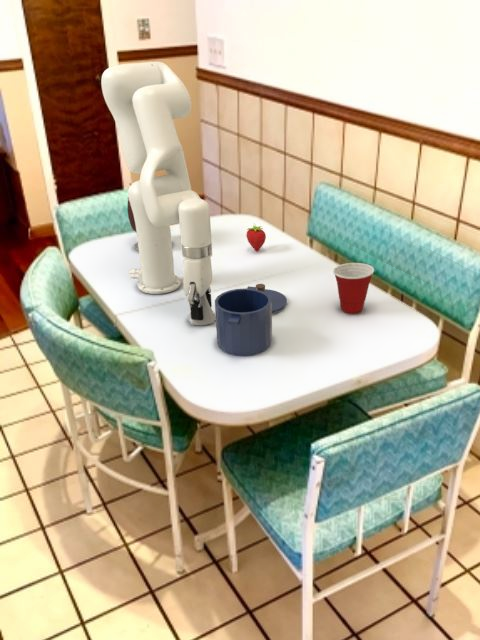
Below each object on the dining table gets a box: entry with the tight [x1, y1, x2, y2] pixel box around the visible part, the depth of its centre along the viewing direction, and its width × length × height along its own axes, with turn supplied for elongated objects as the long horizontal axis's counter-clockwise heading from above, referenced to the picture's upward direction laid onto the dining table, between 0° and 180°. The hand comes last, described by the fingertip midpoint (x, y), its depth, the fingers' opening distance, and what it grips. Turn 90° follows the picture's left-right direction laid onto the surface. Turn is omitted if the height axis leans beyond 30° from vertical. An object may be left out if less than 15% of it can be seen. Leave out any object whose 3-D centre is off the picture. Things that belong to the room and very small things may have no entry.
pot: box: [214, 285, 273, 357], centre depth 156 cm, size 14×19×12 cm
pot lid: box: [255, 283, 288, 314], centre depth 175 cm, size 15×15×6 cm
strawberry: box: [245, 224, 267, 252], centre depth 207 cm, size 6×8×10 cm
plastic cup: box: [332, 262, 375, 315], centre depth 170 cm, size 11×11×12 cm
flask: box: [188, 292, 216, 326], centre depth 167 cm, size 7×7×10 cm
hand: (201, 312), depth 168 cm, fingers open, 6 cm apart
